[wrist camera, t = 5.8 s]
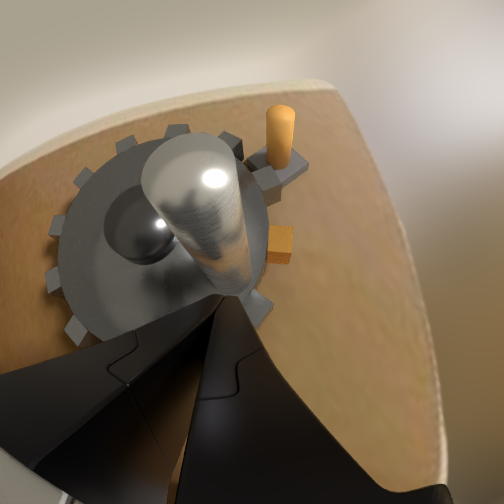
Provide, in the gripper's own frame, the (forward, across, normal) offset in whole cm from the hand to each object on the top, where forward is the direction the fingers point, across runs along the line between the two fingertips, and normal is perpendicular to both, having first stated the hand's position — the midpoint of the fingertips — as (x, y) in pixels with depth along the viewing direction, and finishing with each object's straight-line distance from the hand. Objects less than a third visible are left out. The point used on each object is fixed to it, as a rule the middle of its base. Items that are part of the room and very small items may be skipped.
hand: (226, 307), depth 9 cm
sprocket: (+7, -5, -2) cm, 9 cm away
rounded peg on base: (+13, +1, +2) cm, 13 cm away
